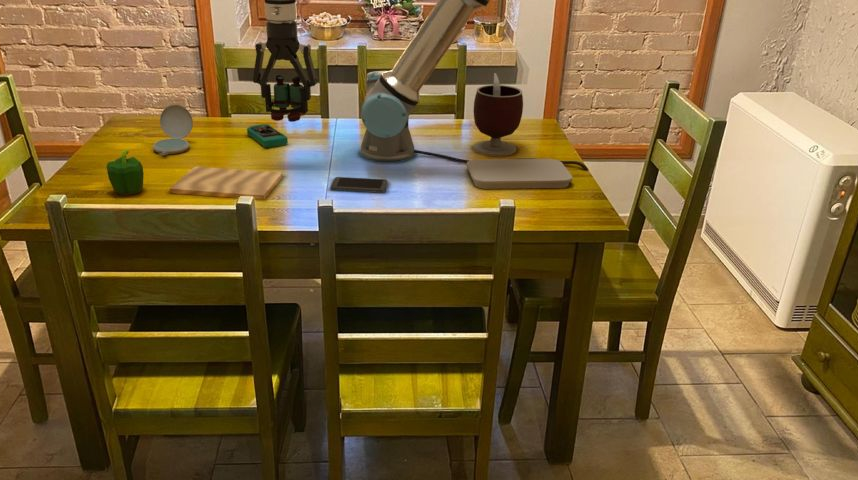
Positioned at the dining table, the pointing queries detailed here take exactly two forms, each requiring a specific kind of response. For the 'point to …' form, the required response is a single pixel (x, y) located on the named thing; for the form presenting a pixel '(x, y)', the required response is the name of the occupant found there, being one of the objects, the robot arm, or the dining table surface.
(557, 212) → the dining table surface
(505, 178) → the tablet
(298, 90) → the binoculars
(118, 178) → the bell pepper
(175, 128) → the grey compact mirror
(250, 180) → the serving board
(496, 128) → the mate gourd
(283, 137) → the digital multimeter
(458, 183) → the dining table surface
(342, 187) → the cell phone
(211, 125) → the dining table surface
